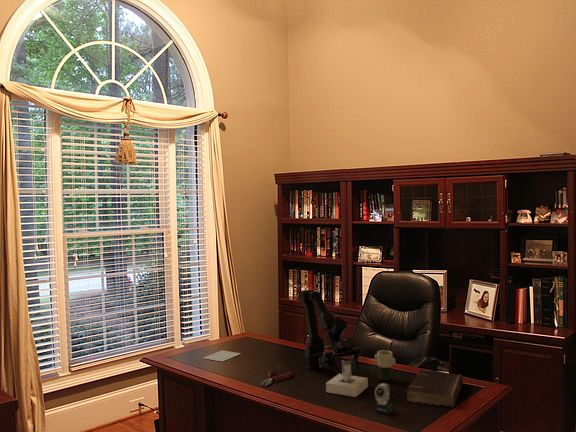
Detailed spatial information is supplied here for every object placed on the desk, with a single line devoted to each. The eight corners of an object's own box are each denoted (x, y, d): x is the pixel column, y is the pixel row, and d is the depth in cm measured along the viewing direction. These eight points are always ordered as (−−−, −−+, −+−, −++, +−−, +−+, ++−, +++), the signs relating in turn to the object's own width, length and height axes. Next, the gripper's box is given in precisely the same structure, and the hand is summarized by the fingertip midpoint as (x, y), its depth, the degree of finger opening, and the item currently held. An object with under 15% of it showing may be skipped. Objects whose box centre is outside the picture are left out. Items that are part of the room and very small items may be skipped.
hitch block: (339, 382, 248) (339, 373, 248) (367, 386, 241) (367, 377, 241) (326, 392, 236) (325, 383, 236) (355, 397, 229) (355, 387, 229)
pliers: (251, 386, 247) (251, 380, 247) (273, 373, 265) (272, 368, 265) (273, 389, 242) (273, 384, 242) (293, 376, 260) (293, 371, 260)
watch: (372, 413, 210) (372, 386, 210) (381, 407, 217) (380, 380, 217) (386, 416, 207) (385, 388, 207) (394, 409, 214) (393, 382, 214)
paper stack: (255, 356, 294) (255, 355, 294) (226, 369, 272) (226, 368, 272) (221, 351, 306) (221, 350, 306) (192, 363, 285) (191, 362, 285)
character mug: (399, 380, 248) (399, 352, 248) (391, 384, 243) (390, 356, 243) (379, 375, 256) (378, 348, 255) (371, 379, 250) (370, 351, 250)
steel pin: (341, 387, 241) (341, 358, 240) (352, 387, 241) (351, 358, 240) (342, 391, 236) (341, 361, 236) (352, 391, 236) (351, 361, 236)
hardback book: (453, 408, 215) (453, 396, 215) (407, 402, 223) (406, 390, 222) (462, 385, 241) (462, 374, 241) (420, 380, 249) (420, 369, 249)
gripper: (322, 334, 238) (335, 366, 228) (359, 329, 245) (373, 360, 235) (315, 347, 245) (327, 378, 235) (351, 342, 252) (364, 372, 242)
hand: (348, 372), depth 237 cm, fingers open, 9 cm apart
